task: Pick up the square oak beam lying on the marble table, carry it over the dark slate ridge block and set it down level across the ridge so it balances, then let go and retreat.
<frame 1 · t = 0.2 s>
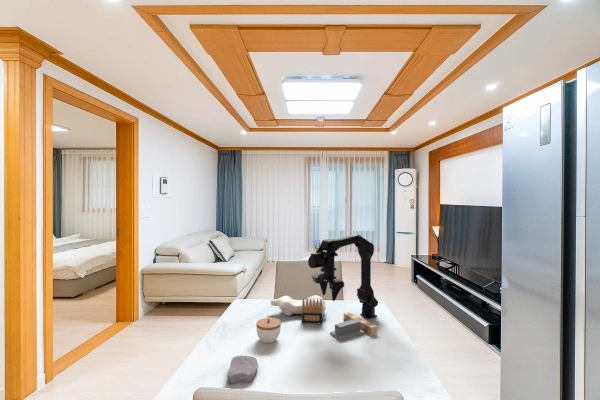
hand: (328, 297, 143), 14 cm above the table, fingers open, 9 cm apart
stone block: (243, 374, 104), on the table
beam: (359, 327, 143), on the table
lidded jar: (268, 340, 129), on the table
ridge: (347, 333, 135), on the table
torso sculpture: (297, 314, 160), on the table
ammunition clip: (312, 323, 148), on the table
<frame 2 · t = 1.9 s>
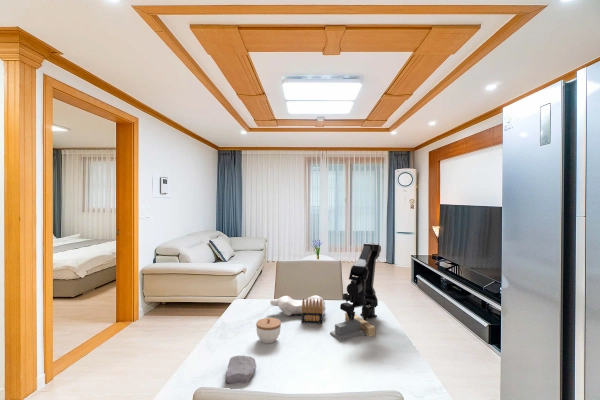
hand: (358, 322, 143), 2 cm above the table, fingers open, 8 cm apart
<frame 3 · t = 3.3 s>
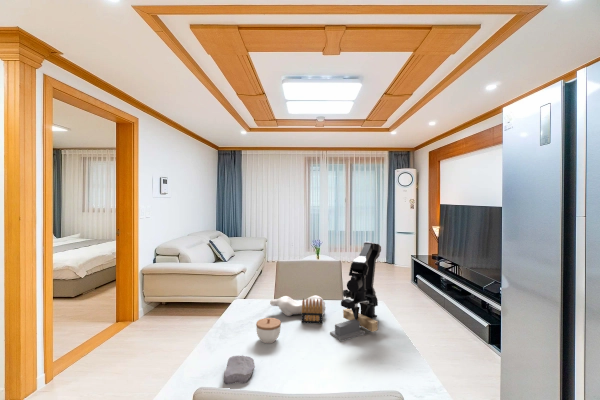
hand: (359, 318, 143), 4 cm above the table, fingers closed on beam, 3 cm apart
beam: (359, 323, 143), point 2 cm above the table, touching gripper
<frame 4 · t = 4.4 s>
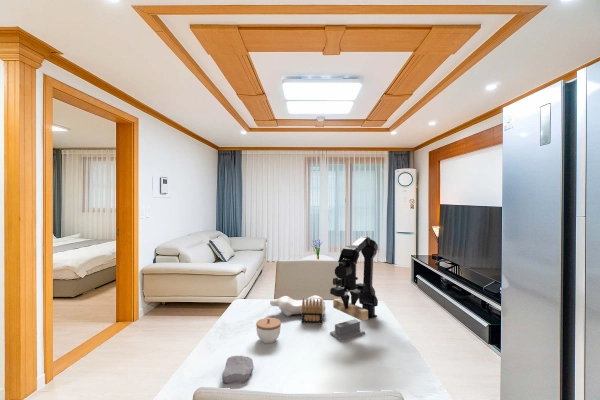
hand: (349, 308, 136), 11 cm above the table, fingers closed on beam, 3 cm apart
beam: (349, 313, 136), point 9 cm above the table, touching gripper
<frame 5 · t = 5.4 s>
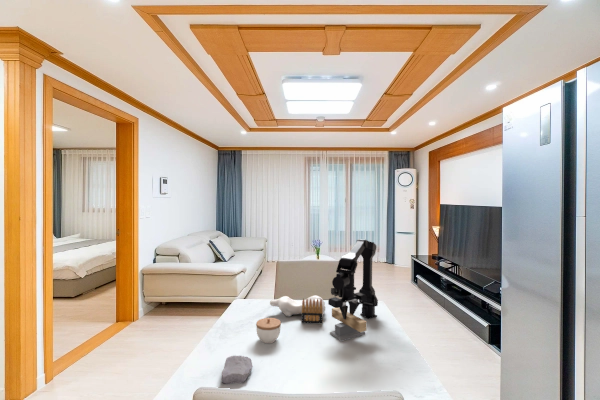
hand: (347, 318, 136), 7 cm above the table, fingers closed on beam, 3 cm apart
beam: (348, 323, 135), point 5 cm above the table, touching gripper, ridge
when the fingers open (7 cm above the table, at t = 5.5 s): beam stays where it is, resting on ridge.
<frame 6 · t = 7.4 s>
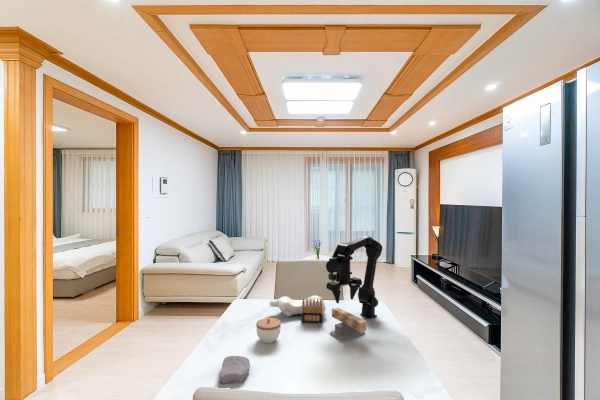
hand: (344, 301, 144), 12 cm above the table, fingers open, 9 cm apart
beam: (348, 323, 135), point 5 cm above the table, touching ridge
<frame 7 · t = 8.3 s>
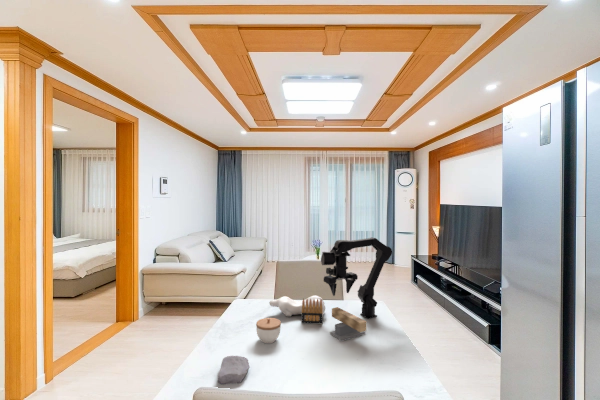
hand: (340, 294, 154), 13 cm above the table, fingers open, 9 cm apart
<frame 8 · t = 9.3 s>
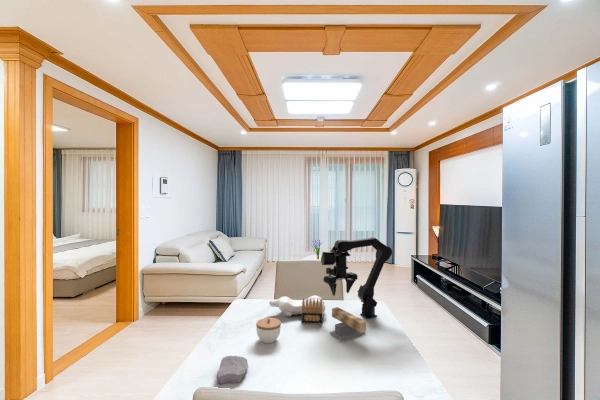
hand: (340, 294, 154), 13 cm above the table, fingers open, 9 cm apart
at the end: beam 0.2 cm off-centre on the ridge, point 5.0 cm above the ridge's base; beam tilted 0°; beam touching ridge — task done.
